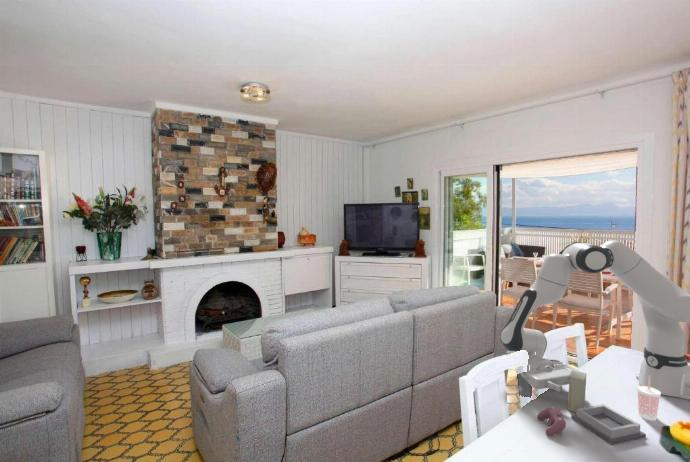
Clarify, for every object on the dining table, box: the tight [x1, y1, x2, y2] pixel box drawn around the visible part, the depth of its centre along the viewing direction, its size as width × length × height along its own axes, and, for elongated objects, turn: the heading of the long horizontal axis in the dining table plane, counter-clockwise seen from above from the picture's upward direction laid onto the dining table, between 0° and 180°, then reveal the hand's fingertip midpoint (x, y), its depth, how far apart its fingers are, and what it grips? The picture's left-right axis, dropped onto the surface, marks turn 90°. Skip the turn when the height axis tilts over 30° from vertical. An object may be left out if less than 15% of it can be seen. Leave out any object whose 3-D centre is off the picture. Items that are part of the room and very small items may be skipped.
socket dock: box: [570, 403, 647, 445], centre depth 115 cm, size 13×14×4 cm
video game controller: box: [536, 406, 567, 437], centre depth 115 cm, size 10×5×7 cm, turn 169°
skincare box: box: [567, 370, 587, 414], centre depth 126 cm, size 6×4×12 cm
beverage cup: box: [636, 375, 662, 421], centre depth 121 cm, size 6×6×14 cm
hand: (571, 387), depth 128 cm, fingers open, 8 cm apart
